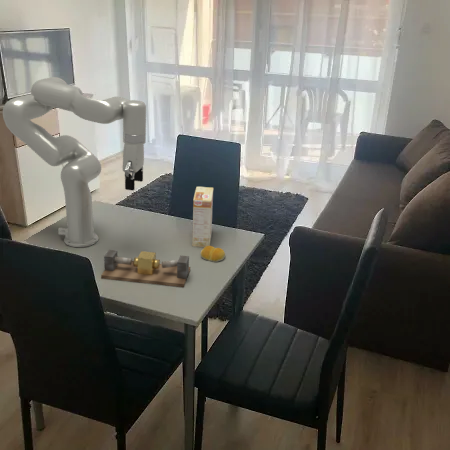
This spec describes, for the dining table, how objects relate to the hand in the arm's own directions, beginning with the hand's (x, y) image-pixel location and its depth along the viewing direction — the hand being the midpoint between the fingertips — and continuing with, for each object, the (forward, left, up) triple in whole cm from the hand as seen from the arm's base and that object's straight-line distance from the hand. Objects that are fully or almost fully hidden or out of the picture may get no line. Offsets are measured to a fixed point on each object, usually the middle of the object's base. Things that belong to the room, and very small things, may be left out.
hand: (134, 185), depth 176 cm
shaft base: (+9, -17, -26) cm, 32 cm away
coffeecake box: (+23, +15, -26) cm, 38 cm away
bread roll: (+29, +1, -26) cm, 39 cm away
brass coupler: (+9, -17, -24) cm, 31 cm away
